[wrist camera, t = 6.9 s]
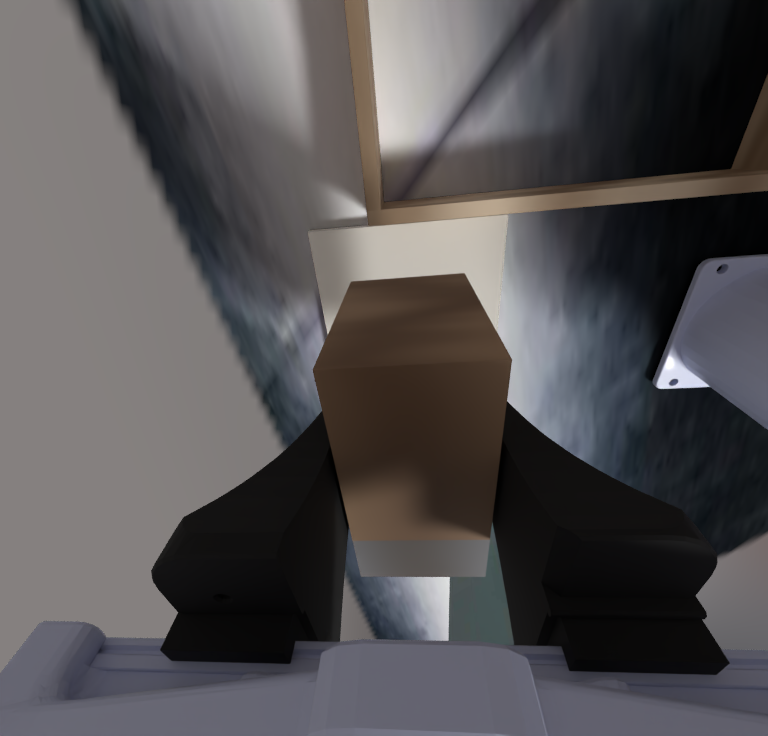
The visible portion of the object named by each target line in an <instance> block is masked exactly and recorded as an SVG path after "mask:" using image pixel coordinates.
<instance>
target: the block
mask: <svg viewBox="0 0 768 736" xmlns="http://www.w3.org/2000/svg"><path fill="white" fill-rule="evenodd" d="M511 363H512V359H511V357H510V355H509V353H508V351H507V350H506V348H505V346H504V344H503V342H502V340H501V339H500V337H499V335H498V333H497V331H496V330H495V328H494V326H493V324H492V322H491V320H490V319H489V317H488V315H487V313H486V311H485V309H484V308H483V306H482V304H481V302H480V300H479V299H478V297H477V295H476V293H475V291H474V289H473V288H472V286H471V284H470V282H469V280H468V278H467V277H466V275H465V273H458V274H445V275H431V276H418V277H405V278H392V279H378V280H365V281H352V282H350V285H349V287H348V289H347V292H346V294H345V296H344V299H343V301H342V303H341V306H340V308H339V310H338V313H337V315H336V317H335V320H334V322H333V324H332V326H331V329H330V331H329V333H328V336H327V338H326V340H325V343H324V345H323V347H322V350H321V352H320V354H319V357H318V359H317V361H316V364H315V366H314V368H313V373H314V378H315V382H316V386H317V390H318V395H319V399H320V403H321V407H322V412H323V416H324V420H325V425H326V429H327V433H328V437H329V442H330V446H331V450H332V454H333V459H334V463H335V467H336V472H337V476H338V480H339V484H340V489H341V493H342V497H343V501H344V506H345V510H346V514H347V519H348V523H349V527H350V531H351V536H352V540H353V544H354V548H355V553H356V557H357V561H358V566H359V570H360V574H361V577H485V576H486V568H487V560H488V552H489V543H490V535H491V527H492V519H493V511H494V502H495V494H496V486H497V478H498V470H499V461H500V453H501V445H502V437H503V429H504V421H505V412H506V404H507V396H508V388H509V380H510V371H511Z"/></svg>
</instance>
